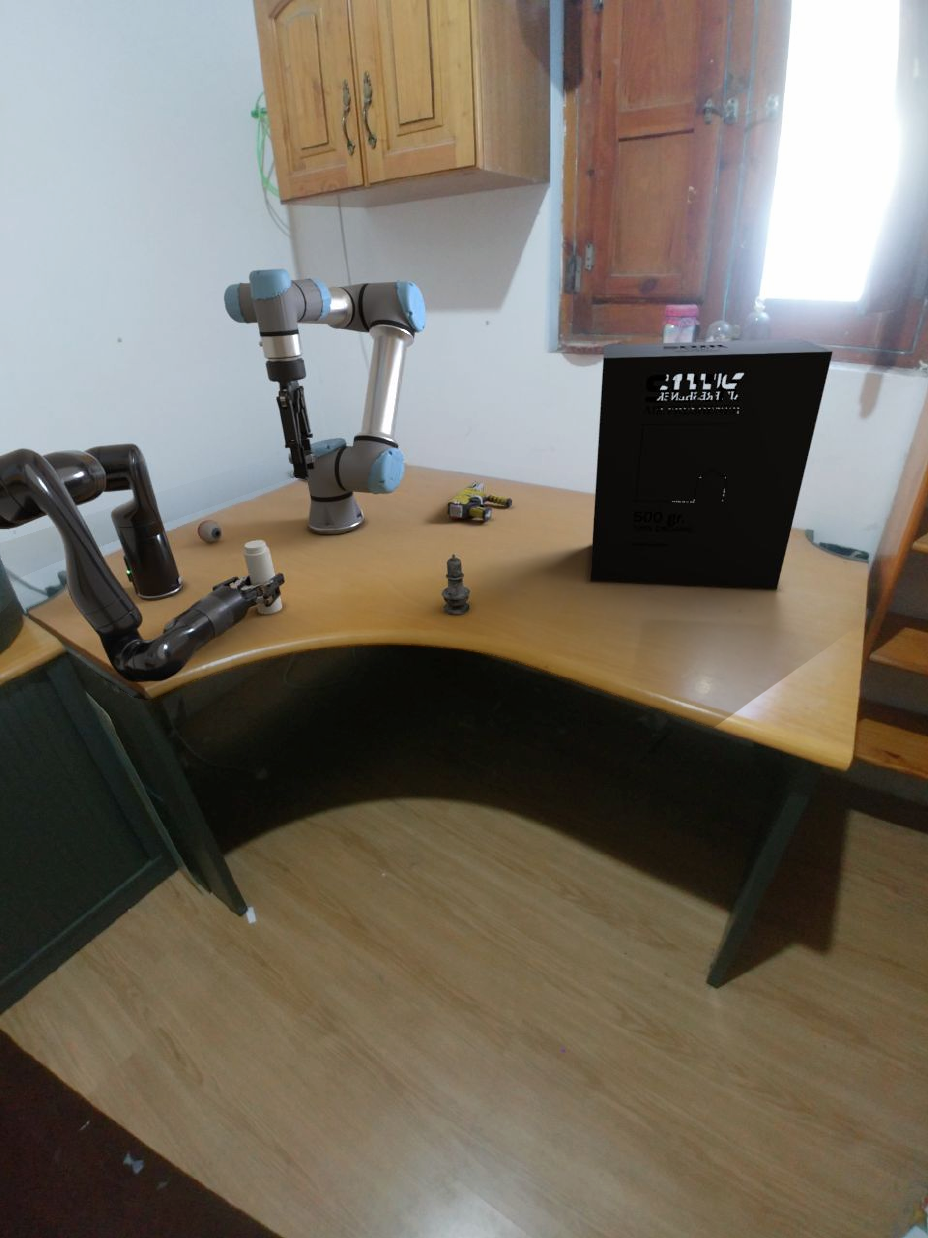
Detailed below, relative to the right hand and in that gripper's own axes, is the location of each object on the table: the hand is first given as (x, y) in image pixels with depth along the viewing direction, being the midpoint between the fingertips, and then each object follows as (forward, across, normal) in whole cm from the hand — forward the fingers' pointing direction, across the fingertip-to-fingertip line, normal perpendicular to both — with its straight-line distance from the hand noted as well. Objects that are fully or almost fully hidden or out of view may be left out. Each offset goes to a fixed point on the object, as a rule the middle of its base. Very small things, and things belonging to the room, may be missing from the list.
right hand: (305, 472), depth 132 cm
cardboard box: (+24, +7, +82) cm, 85 cm away
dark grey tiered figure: (+24, +22, +32) cm, 45 cm away
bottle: (+24, +18, -8) cm, 31 cm away
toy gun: (+24, -37, +40) cm, 59 cm away
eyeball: (+24, -22, -34) cm, 47 cm away
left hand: (+17, +15, -7) cm, 24 cm away
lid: (-4, 0, 0) cm, 4 cm away
